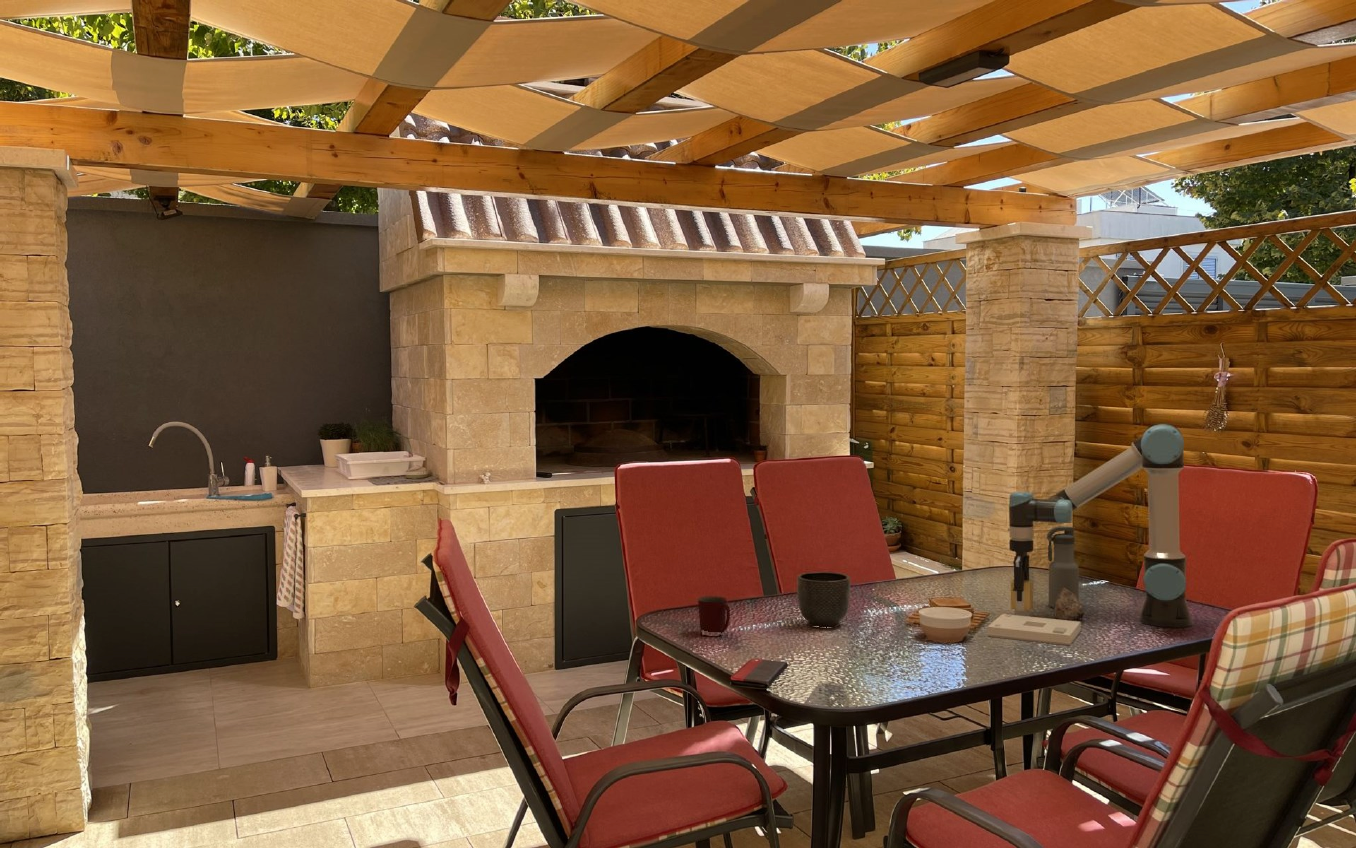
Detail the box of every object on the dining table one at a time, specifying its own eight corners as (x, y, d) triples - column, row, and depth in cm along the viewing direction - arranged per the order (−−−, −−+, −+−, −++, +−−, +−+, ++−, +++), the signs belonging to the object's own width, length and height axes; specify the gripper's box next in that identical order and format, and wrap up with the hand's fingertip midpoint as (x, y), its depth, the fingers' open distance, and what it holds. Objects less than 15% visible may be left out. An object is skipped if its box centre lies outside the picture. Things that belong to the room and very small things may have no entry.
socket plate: (1080, 631, 321) (1080, 619, 321) (1069, 645, 303) (1069, 633, 303) (1002, 623, 333) (1002, 611, 333) (987, 636, 316) (987, 624, 315)
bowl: (908, 634, 319) (907, 609, 319) (951, 630, 324) (951, 605, 324) (938, 646, 304) (938, 620, 304) (983, 641, 309) (983, 615, 309)
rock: (1057, 630, 334) (1076, 610, 329) (1036, 603, 341) (1054, 583, 336) (1074, 630, 339) (1093, 610, 334) (1053, 603, 346) (1071, 583, 341)
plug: (1032, 616, 339) (1032, 577, 339) (1029, 619, 335) (1029, 579, 334) (1014, 615, 342) (1013, 575, 342) (1011, 618, 338) (1010, 578, 337)
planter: (809, 617, 344) (809, 570, 343) (858, 623, 335) (858, 574, 334) (788, 627, 329) (788, 578, 328) (838, 634, 320) (838, 583, 320)
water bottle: (1049, 609, 352) (1049, 528, 351) (1045, 603, 362) (1046, 524, 361) (1080, 610, 350) (1080, 529, 349) (1076, 604, 359) (1076, 525, 358)
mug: (739, 636, 319) (739, 601, 318) (718, 640, 313) (718, 605, 313) (713, 629, 328) (713, 595, 328) (692, 633, 322) (692, 599, 322)
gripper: (1015, 534, 347) (1016, 603, 348) (1003, 542, 332) (1004, 613, 332) (1038, 536, 343) (1039, 605, 344) (1027, 543, 328) (1028, 615, 329)
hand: (1021, 609), depth 338 cm, fingers closed on plug, 5 cm apart
